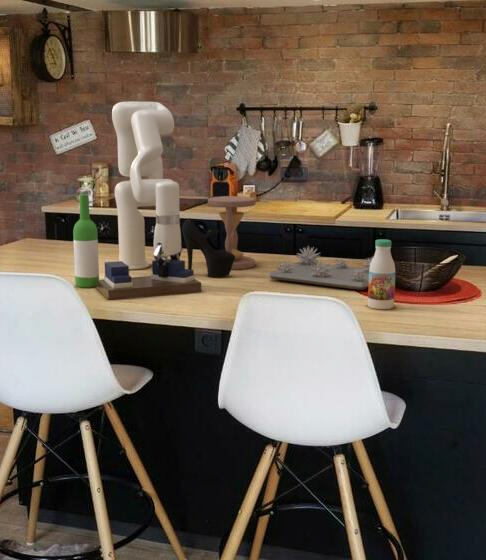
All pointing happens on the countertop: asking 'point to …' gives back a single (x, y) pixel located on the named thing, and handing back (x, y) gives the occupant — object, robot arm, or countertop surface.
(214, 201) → the hourglass
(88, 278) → the wine bottle
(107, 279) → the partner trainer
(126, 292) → the dark brown flat board
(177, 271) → the blue pale-edged block
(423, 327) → the countertop surface
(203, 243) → the high-heeled shoe
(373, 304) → the milk bottle
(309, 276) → the decorative tray
